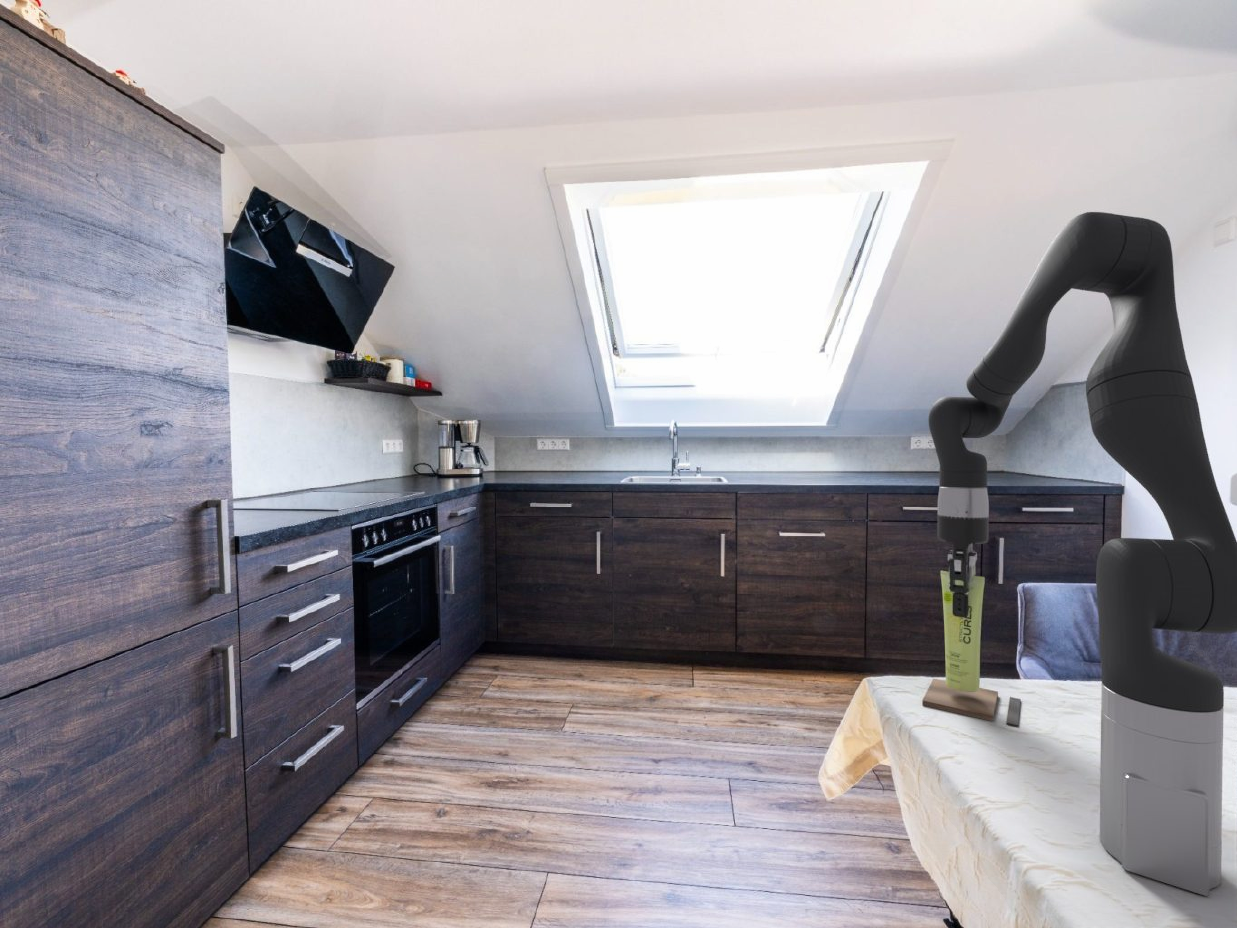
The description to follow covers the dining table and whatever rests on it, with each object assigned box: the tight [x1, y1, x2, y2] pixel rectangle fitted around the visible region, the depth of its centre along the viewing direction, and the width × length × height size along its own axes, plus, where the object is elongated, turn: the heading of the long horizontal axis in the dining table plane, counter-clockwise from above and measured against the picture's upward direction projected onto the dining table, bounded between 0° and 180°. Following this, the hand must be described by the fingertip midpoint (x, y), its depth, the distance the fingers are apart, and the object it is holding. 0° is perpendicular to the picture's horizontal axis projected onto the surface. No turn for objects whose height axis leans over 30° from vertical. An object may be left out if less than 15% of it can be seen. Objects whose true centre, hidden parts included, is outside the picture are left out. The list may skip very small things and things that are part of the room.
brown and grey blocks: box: [922, 678, 1021, 728], centre depth 98 cm, size 12×13×1 cm
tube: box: [940, 570, 986, 692], centre depth 99 cm, size 6×5×20 cm
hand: (961, 612), depth 99 cm, fingers closed on tube, 4 cm apart
